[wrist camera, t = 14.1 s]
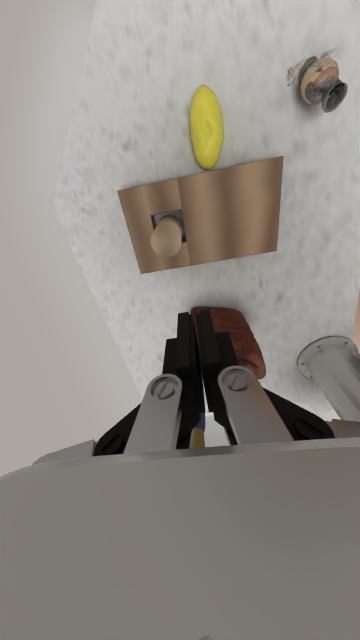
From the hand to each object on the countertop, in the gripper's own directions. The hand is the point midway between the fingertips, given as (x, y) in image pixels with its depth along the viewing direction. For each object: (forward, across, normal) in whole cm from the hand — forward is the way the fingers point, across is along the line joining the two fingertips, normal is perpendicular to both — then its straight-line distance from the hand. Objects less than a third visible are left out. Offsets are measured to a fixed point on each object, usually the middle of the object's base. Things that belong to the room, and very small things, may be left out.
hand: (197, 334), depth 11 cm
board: (+28, -2, -2) cm, 28 cm away
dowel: (+28, +3, -2) cm, 28 cm away
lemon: (+28, -4, -12) cm, 31 cm away
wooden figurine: (+28, -3, +17) cm, 33 cm away
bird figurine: (+28, -17, -14) cm, 35 cm away
